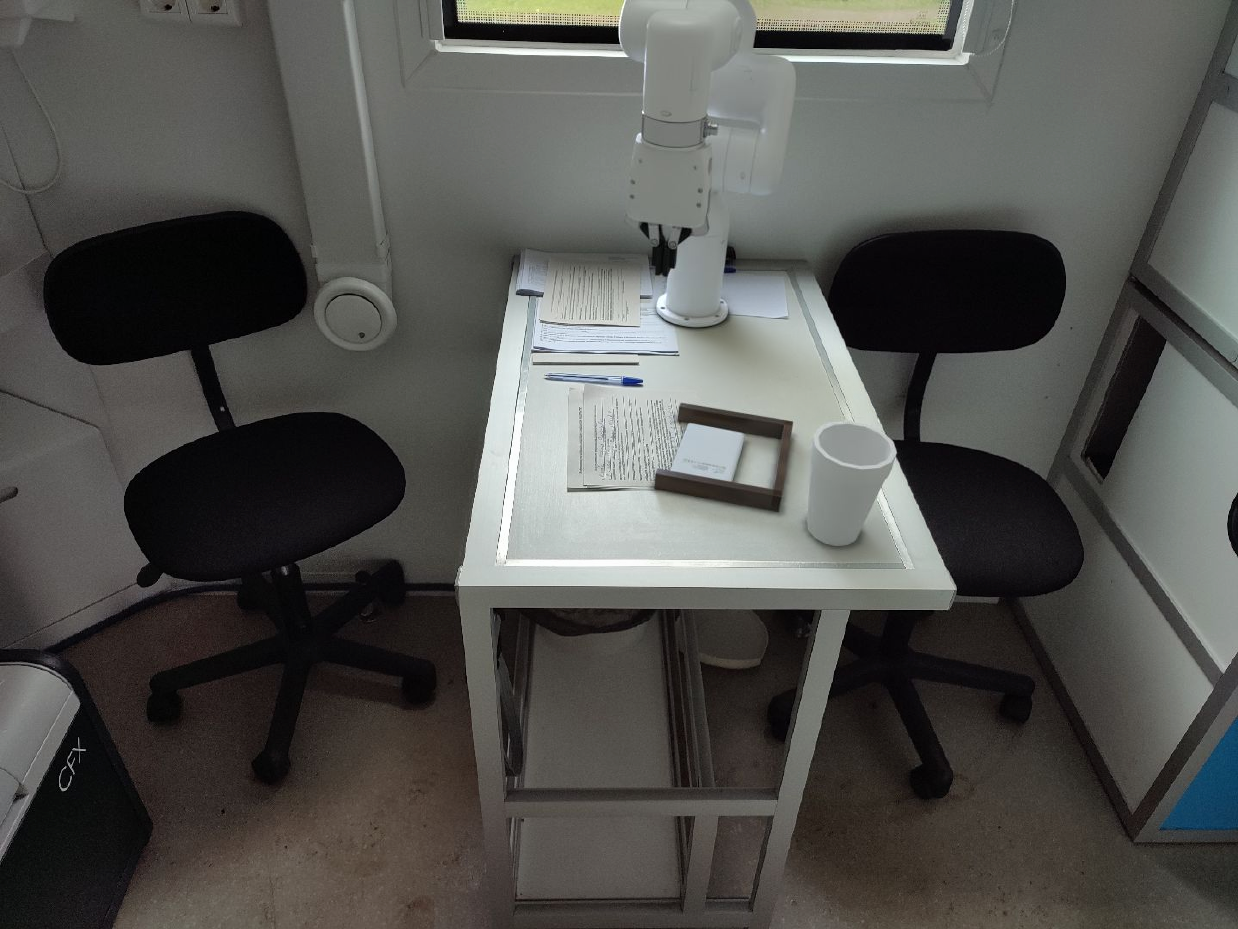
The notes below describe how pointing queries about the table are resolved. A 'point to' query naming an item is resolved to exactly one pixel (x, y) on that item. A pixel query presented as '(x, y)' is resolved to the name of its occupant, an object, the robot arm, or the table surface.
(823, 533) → the foam cup
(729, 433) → the hard drive
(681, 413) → the dock
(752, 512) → the table surface
